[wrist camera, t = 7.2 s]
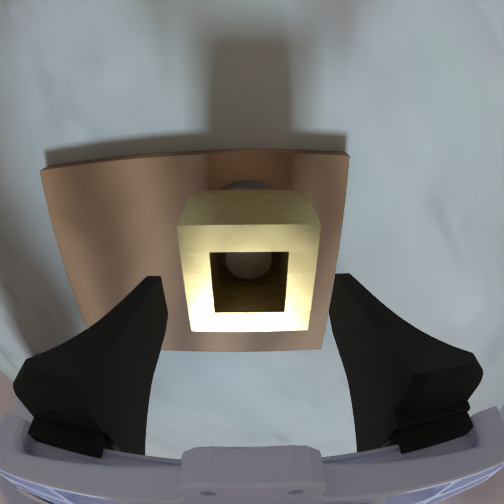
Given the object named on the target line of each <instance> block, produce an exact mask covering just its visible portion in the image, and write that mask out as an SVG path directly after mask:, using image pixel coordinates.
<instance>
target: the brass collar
mask: <svg viewBox="0 0 504 504" xmlns="http://www.w3.org/2000/svg"><path fill="white" fill-rule="evenodd" d="M320 230H321V223H320V221H319V219H318V217H317V215H316V213H315V211H314V209H313V206H312V204H311V202H310V200H309V198H308V196H307V194H306V192H305V190H209V191H192V192H191V195H190V197H189V199H188V201H187V203H186V206H185V208H184V210H183V212H182V215H181V217H180V219H179V222H178V224H177V233H178V241H179V249H180V257H181V264H182V272H183V279H184V286H185V292H186V299H187V305H188V312H189V318H190V324H191V330H192V331H215V332H246V331H292V330H308V324H309V318H310V311H311V304H312V297H313V289H314V281H315V274H316V265H317V257H318V248H319V239H320ZM219 252H278V265H270V268H269V269H268V270H267V272H266V273H264V274H263V275H262V276H260V277H257V278H253V279H244V278H240V277H237V276H236V275H234V274H233V273H232V272H231V271H230V270H229V269H228V267H227V265H222V266H220V256H219Z"/></svg>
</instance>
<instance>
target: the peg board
mask: <svg viewBox="0 0 504 504" xmlns="http://www.w3.org/2000/svg"><path fill="white" fill-rule="evenodd" d="M349 157H350V156H349V155H348V154H347V153H345V152H334V151H312V150H210V151H187V152H170V153H156V154H144V155H133V156H123V157H113V158H104V159H96V160H88V161H81V162H73V163H67V164H60V165H54V166H47V167H46V168H44V169H42V170H40V175H41V180H42V185H43V189H44V194H45V198H46V203H47V207H48V211H49V215H50V219H51V223H52V226H53V230H54V234H55V237H56V241H57V244H58V248H59V251H60V254H61V257H62V261H63V264H64V267H65V270H66V273H67V276H68V279H69V282H70V285H71V287H72V290H73V293H74V296H75V298H76V301H77V304H78V306H79V309H80V311H81V314H82V317H83V319H84V321H85V324H86V326H87V329H88V328H89V327H90V326H92V325H93V324H95V323H96V322H97V321H99V320H100V319H101V318H102V317H104V316H105V315H106V314H107V313H108V312H109V311H111V310H112V309H113V308H114V307H115V306H116V305H117V304H118V303H120V302H121V301H122V300H123V299H124V298H125V297H126V296H127V295H128V294H129V293H130V292H131V291H132V290H133V289H134V288H135V287H136V286H137V285H138V284H139V283H140V282H141V281H142V280H143V279H144V278H145V277H146V276H161V279H162V284H163V289H164V295H165V300H166V304H167V309H168V320H167V326H166V332H165V337H164V340H163V344H162V347H161V350H175V351H210V352H256V351H291V350H312V349H321V347H322V342H323V337H324V332H325V327H326V322H327V316H328V311H329V305H330V300H331V294H332V288H333V282H334V276H335V270H336V264H337V257H338V251H339V244H340V236H341V229H342V222H343V214H344V205H345V197H346V188H347V178H348V168H349ZM209 190H305V192H306V194H307V196H308V198H309V200H310V202H311V204H312V206H313V209H314V211H315V213H316V215H317V217H318V219H319V221H320V223H321V230H320V239H319V248H318V257H317V265H316V274H315V281H314V289H313V297H312V304H311V311H310V318H309V324H308V330H292V331H246V332H215V331H192V330H191V324H190V318H189V312H188V305H187V299H186V292H185V286H184V279H183V272H182V264H181V257H180V249H179V241H178V233H177V224H178V222H179V219H180V217H181V215H182V212H183V210H184V208H185V206H186V203H187V201H188V199H189V197H190V195H191V192H192V191H209ZM219 256H220V266H222V265H227V267H228V269H229V270H230V271H231V272H232V273H233V274H234V275H236V276H237V277H240V278H244V279H253V278H257V277H260V276H262V275H263V274H264V273H266V272H267V270H268V269H269V268H270V265H278V252H219Z"/></svg>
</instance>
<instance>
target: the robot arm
mask: <svg viewBox="0 0 504 504" xmlns="http://www.w3.org/2000/svg"><path fill="white" fill-rule="evenodd" d="M329 315H330V321H331V326H332V332H333V335H334V338H335V341H336V344H337V347H338V350H339V353H340V357H341V360H342V363H343V366H344V369H345V372H346V376H347V380H348V384H349V390H350V395H351V401H352V408H353V415H354V423H355V432H356V444H357V453H350V454H344V455H337V456H329V457H321V453H320V451H319V450H317V449H314V448H312V447H309V446H297V445H288V446H267V447H213V446H211V447H196V448H193V449H190V450H188V451H186V452H184V453H183V454H182V458H181V459H170V458H161V457H153V456H145V438H146V424H147V414H148V405H149V397H150V390H151V384H152V379H153V375H154V371H155V368H156V364H157V361H158V357H159V354H160V351H161V347H162V344H163V340H164V337H165V332H166V326H167V320H168V309H167V304H166V300H165V295H164V289H163V284H162V279H161V276H146V277H145V278H144V279H143V280H142V281H141V282H140V283H139V284H138V285H137V286H136V287H135V288H134V289H133V290H132V291H131V292H130V293H129V294H128V295H127V296H126V297H125V298H124V299H123V300H122V301H121V302H120V303H118V304H117V305H116V306H115V307H114V308H113V309H112V310H111V311H109V312H108V313H107V314H106V315H105V316H104V317H102V318H101V319H100V320H99V321H97V322H96V323H95V324H93V325H92V326H90V327H89V328H88V329H86V330H85V331H83V332H82V333H80V334H78V335H77V336H75V337H73V338H72V339H70V340H68V341H67V342H65V343H63V344H61V345H59V346H57V347H55V348H53V349H51V350H48V351H46V352H44V353H41V354H39V355H36V356H33V357H31V358H28V359H26V360H25V362H24V364H23V366H22V367H21V369H20V371H19V373H18V375H17V377H16V379H15V381H14V383H13V388H14V391H15V394H16V395H17V397H18V398H17V400H16V403H15V408H14V416H13V415H10V414H8V413H4V415H3V417H2V420H1V422H0V497H1V499H2V500H3V501H4V503H5V504H41V503H39V502H37V501H35V500H33V499H31V498H29V497H27V496H25V495H24V494H22V493H21V492H20V491H18V490H17V488H16V487H18V488H20V489H22V490H23V491H25V492H27V493H29V494H31V495H33V496H35V497H37V498H39V499H41V500H43V501H45V502H48V503H50V504H434V503H436V502H439V501H441V500H443V499H446V498H448V497H450V496H453V495H455V494H458V493H460V492H462V491H464V490H466V489H468V488H471V487H473V486H475V485H477V484H479V483H481V482H483V481H485V480H486V479H488V478H489V477H490V476H492V475H493V474H494V473H496V472H497V471H498V470H499V469H501V468H502V467H503V466H504V421H503V419H502V416H501V414H500V412H499V410H498V408H497V406H494V407H491V408H489V409H486V410H483V411H480V412H478V413H476V414H474V415H473V416H471V417H469V414H468V412H467V411H469V409H470V405H469V403H468V401H467V400H468V399H469V398H470V396H471V395H472V394H473V392H474V391H475V389H476V388H477V387H478V385H479V383H480V382H481V379H482V376H483V369H482V368H481V366H480V364H479V362H478V361H477V359H476V357H475V356H474V354H473V353H471V352H468V351H465V350H462V349H459V348H456V347H454V346H451V345H449V344H446V343H444V342H442V341H440V340H437V339H435V338H433V337H431V336H429V335H428V334H426V333H424V332H422V331H420V330H419V329H417V328H415V327H414V326H412V325H411V324H409V323H408V322H406V321H405V320H403V319H402V318H400V317H399V316H398V315H396V314H395V313H394V312H392V311H391V310H390V309H389V308H387V307H386V306H385V305H384V304H383V303H381V302H380V301H379V300H378V299H377V298H376V297H375V296H373V295H372V294H371V293H370V292H369V291H368V290H367V289H366V288H365V287H364V286H363V285H362V284H360V283H359V282H358V281H357V280H356V279H355V278H354V277H353V276H352V275H351V274H349V273H345V274H335V279H334V285H333V291H332V297H331V302H330V308H329ZM15 486H16V487H15Z"/></svg>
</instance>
